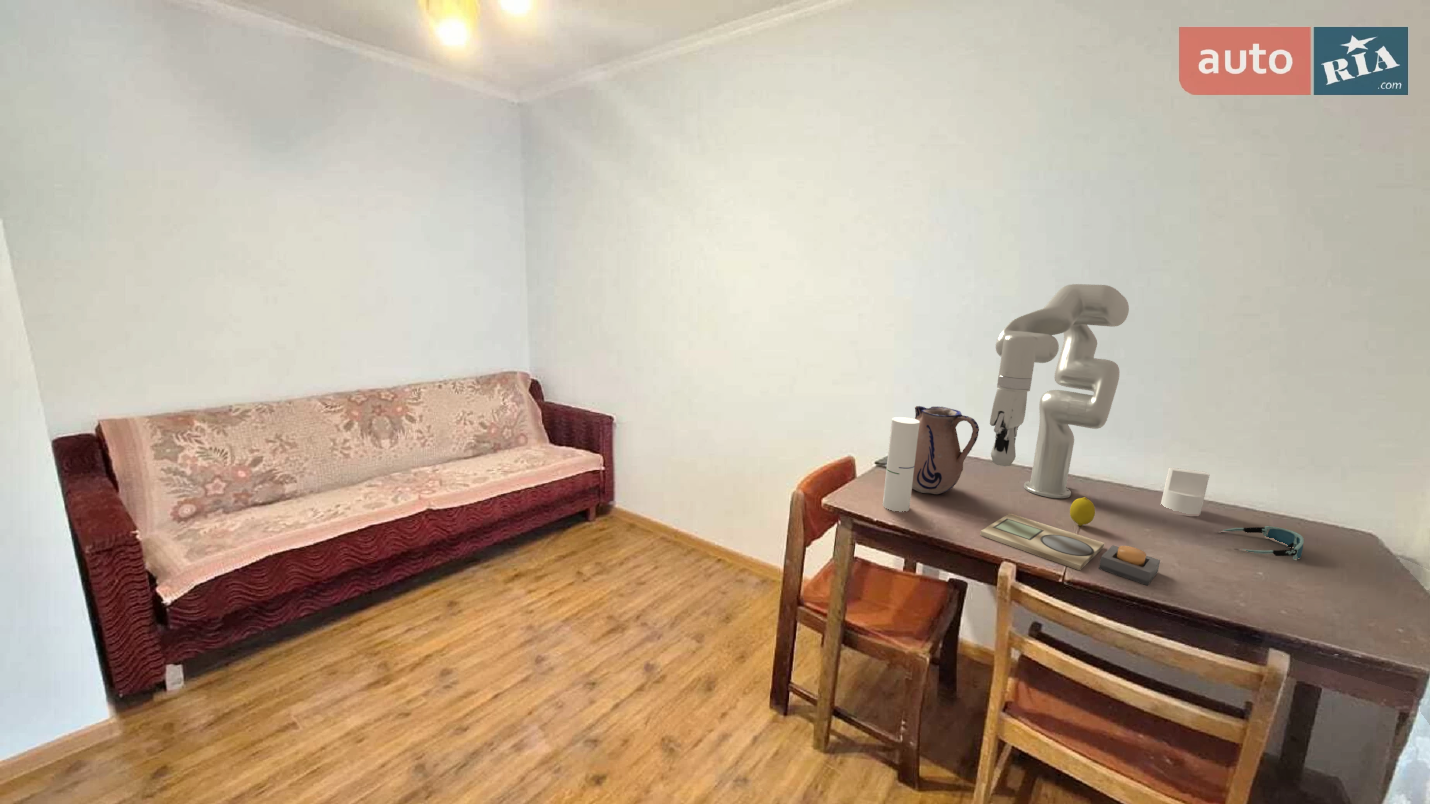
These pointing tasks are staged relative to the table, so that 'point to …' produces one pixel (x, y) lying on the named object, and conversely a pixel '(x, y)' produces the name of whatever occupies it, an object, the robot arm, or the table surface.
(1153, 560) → the button housing
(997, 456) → the salt shaker
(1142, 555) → the button
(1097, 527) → the table surface
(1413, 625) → the table surface
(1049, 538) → the picture board
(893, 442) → the cylindrical container
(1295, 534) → the sunglasses
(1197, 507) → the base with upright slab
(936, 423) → the ceramic pitcher
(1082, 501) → the lemon
